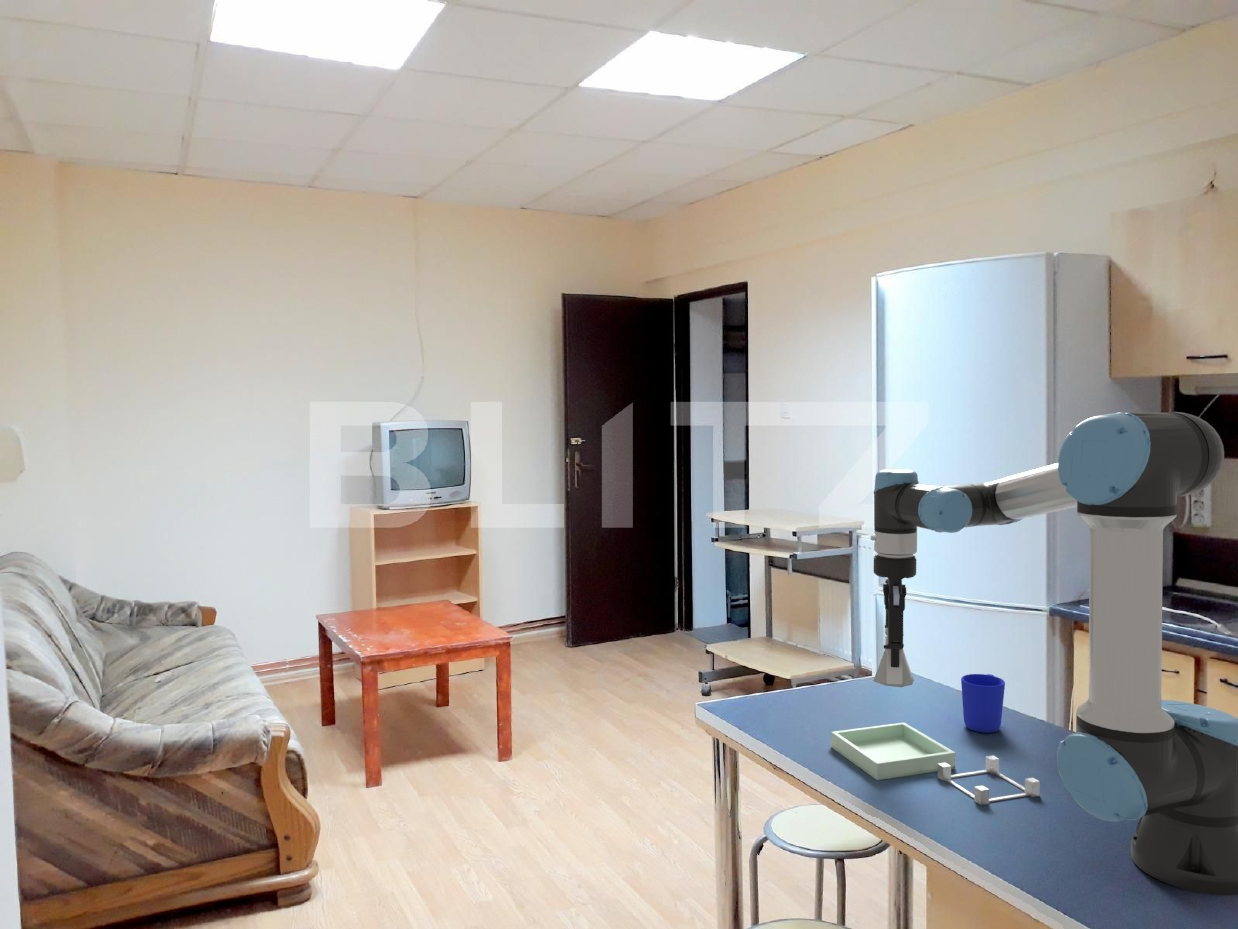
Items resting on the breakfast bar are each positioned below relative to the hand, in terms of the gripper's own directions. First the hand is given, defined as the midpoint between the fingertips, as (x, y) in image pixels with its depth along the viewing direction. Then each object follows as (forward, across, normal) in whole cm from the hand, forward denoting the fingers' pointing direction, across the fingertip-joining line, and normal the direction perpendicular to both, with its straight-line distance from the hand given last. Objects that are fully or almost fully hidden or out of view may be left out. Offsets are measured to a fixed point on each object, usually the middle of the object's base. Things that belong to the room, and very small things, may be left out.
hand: (893, 676), depth 169 cm
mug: (+16, -21, +19) cm, 32 cm away
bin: (+15, 0, 0) cm, 15 cm away
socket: (+15, +10, +15) cm, 24 cm away
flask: (+1, 0, 0) cm, 1 cm away
